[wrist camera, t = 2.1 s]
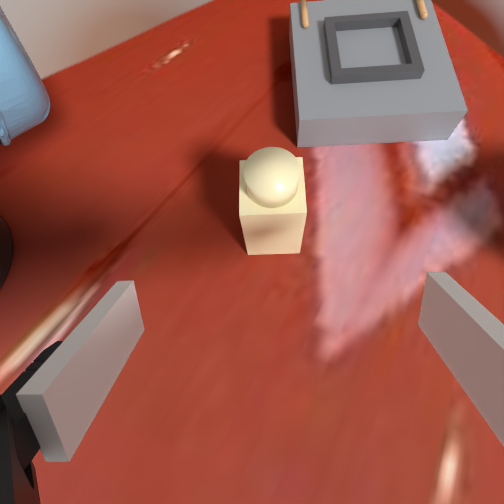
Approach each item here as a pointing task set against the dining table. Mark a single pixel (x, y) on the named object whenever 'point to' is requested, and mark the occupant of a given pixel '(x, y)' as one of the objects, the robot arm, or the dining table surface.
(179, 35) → the dining table surface
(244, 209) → the dome-topped cream pillar
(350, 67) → the ball-topped post base
